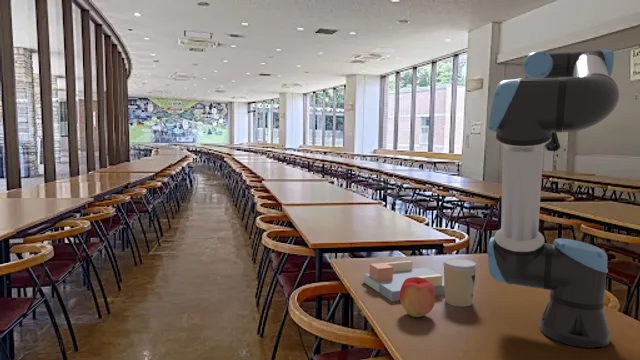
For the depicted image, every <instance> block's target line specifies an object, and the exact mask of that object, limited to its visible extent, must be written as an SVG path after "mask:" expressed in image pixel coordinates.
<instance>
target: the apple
mask: <svg viewBox="0 0 640 360" xmlns="http://www.w3.org/2000/svg"><path fill="white" fill-rule="evenodd" d="M435 303H436V296H435V290H434V287H433V285H432V284H431V283H430V282H429V281H427V280H426V279H424V278H420V277H411V278H407V279H406V280H405V281H404V282H403V284H402V287H401V290H400V305H401V307H402V308H403V310H404V312H406V314H408V315H409V316H410V317H413V318H420V317H424V316H425V315H427V314H429V313H430V312H432V310H433V308H434V306H435Z"/></svg>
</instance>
